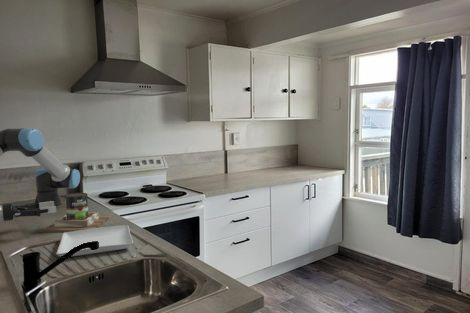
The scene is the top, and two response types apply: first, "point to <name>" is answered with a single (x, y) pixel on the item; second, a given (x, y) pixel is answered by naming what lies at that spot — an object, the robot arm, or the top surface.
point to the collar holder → (76, 223)
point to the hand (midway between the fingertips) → (55, 206)
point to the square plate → (105, 236)
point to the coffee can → (76, 206)
